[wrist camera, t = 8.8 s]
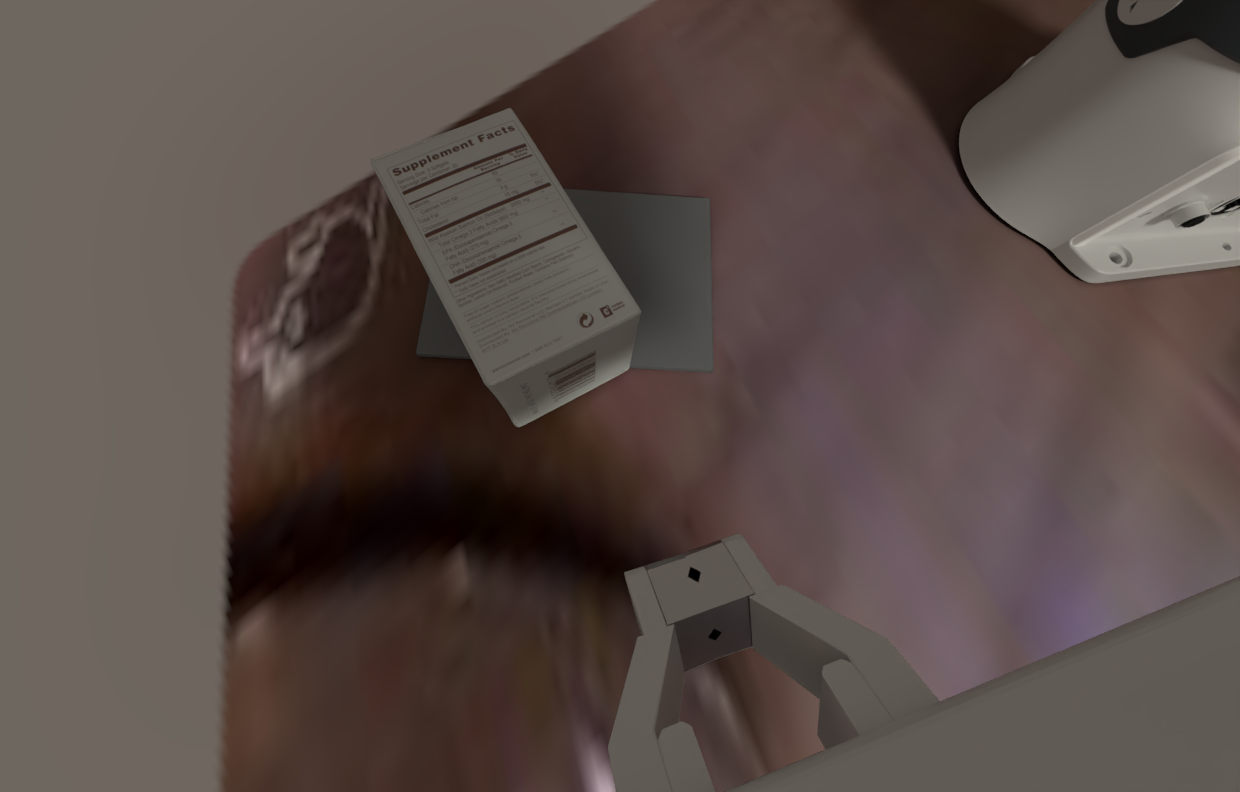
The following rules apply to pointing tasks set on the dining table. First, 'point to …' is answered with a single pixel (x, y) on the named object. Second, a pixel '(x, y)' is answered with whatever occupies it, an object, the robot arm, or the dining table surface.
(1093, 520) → the dining table surface
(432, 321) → the mat
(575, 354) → the supplement box
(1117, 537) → the dining table surface
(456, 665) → the dining table surface
